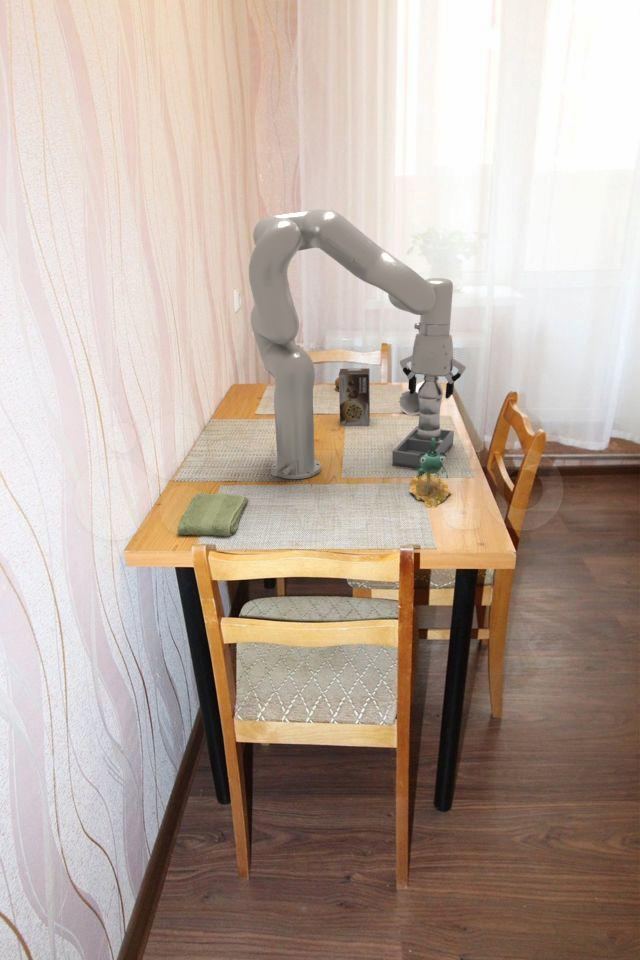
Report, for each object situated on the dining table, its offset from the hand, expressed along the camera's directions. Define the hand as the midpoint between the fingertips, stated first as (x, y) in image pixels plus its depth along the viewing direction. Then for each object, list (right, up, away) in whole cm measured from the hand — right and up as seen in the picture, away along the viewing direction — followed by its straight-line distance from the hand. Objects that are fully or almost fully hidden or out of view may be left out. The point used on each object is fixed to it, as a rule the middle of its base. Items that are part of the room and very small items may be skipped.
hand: (430, 394), depth 171 cm
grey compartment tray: (-1, -16, +3) cm, 16 cm away
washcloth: (-53, -31, -27) cm, 67 cm away
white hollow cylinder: (+3, +1, +39) cm, 39 cm away
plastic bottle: (0, -13, +6) cm, 14 cm away
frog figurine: (-3, -25, -18) cm, 31 cm away
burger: (-19, +9, +59) cm, 63 cm away
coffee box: (-19, -5, +27) cm, 33 cm away
